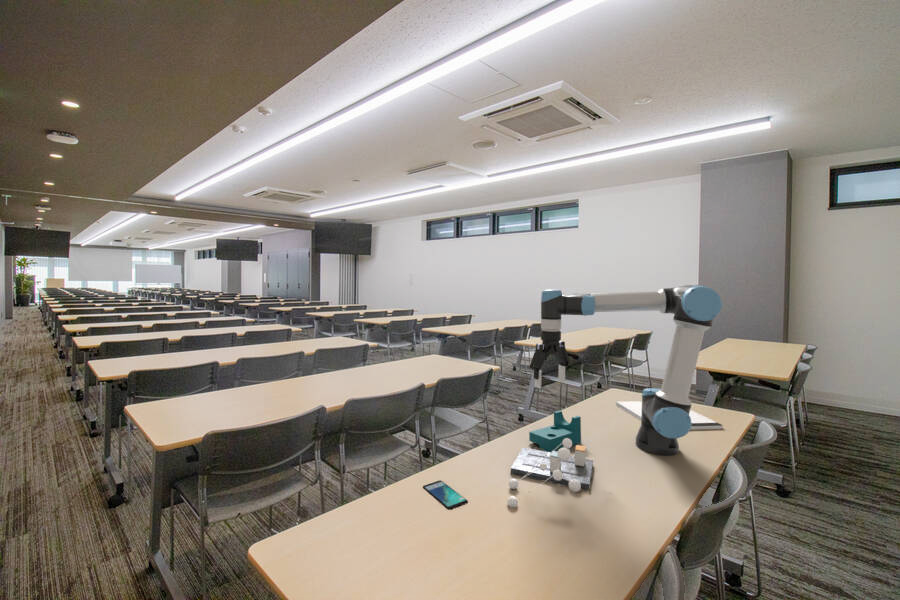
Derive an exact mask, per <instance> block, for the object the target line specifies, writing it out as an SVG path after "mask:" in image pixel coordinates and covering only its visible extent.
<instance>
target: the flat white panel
mask: <svg viewBox="0 0 900 600" xmlns="http://www.w3.org/2000/svg"><path fill="white" fill-rule="evenodd" d="M615 406H616V407H617V408H620V409H621V410H622V411H625V412H627V413H628V414H630V415H632V416H633V417H635V418H636V419H638V420H639V421H641V416H642V400H640V401H639V400H637V401H635V400H634V401H630V400H629V401H627V400H626V401H625V400H624V401H616V402H615ZM689 416H690V418H691V423H692V425H691V429H690V431H693V430H722V429H724V428H723V427H724V425H723V424H722V423H719V422H717V421H715V420H714V419H711V418H708V417H706V416H704V415H702V414H700V413H698V412H697V411H695V410H692V409H690V413H689Z"/></svg>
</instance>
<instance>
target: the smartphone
mask: <svg viewBox="0 0 900 600" xmlns="http://www.w3.org/2000/svg"><path fill="white" fill-rule="evenodd" d="M422 488H423V490H425V491H426V492H427V493H428V494H430V495H431V496H432V497H433V498H434V499H435V500H437V502H439V503H440V504H441V505H442V506H444V507H445V508H446V509H447V510H449V509H451V510H453V508H454V509H456V508H459V507H461V506H464V505H466V504H468V503H469V501H468V499H466V498H465V497H464V496H463V495H461V494H459V493H458V492H457V491H455V490H454V489H453V488H452V487H450V486H449V485H448V484H447V483H446V482H444V481H442V480H437V481H434V482H431V483H428V484H424V485H422Z"/></svg>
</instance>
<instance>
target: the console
mask: <svg viewBox="0 0 900 600" xmlns="http://www.w3.org/2000/svg"><path fill="white" fill-rule="evenodd" d="M550 453H551V452H547V451H544V450H541V449H540V450H539V449H533V448H530V447H529V448H528V447H525V446H524V447H522V448H521V450H520V451H519V453H518V455H517V457H516V458H515V460H514V462H513V463H512V465H511V467H510V474H511V475H515V476H520V477H522V478H523V477H524V476H525V475H526V474H527V473H528V472H529V473H528V474H530V473H531V474H530V475H528V474H527V475H528V476H527V475H526V477H524V478H528V479H533V480H538V481H542V480H543V481H542V482H544V481H545V480H546V481H545V482H548V483H552V484H558V485H562V486H566V487H569V486H568V484H569V481H570V480H572V478H573V479H574V477H575V479H576V480H578V481H579V482H580V484H581V489H580V490H585V491H590V488H591V481H592V480H591V479H592V475H593V467H594V460H593V459H589V458H585V464H584V466H579V465H575V456H572V455H571V457H570V459H569V460H567V463H566V461H562V460H561V469H560V471H561V472H562V473H563V478H564V479H561V480H559V481H557V480H555V479H554V478H553V472H550V464H548V463H550V455H551V454H550ZM549 454H550V455H549ZM545 457H546V458H545ZM544 458H545V459H544ZM543 459H544V460H543ZM542 460H543V461H542ZM571 460H572V463H571ZM541 461H542V462H541ZM540 462H541V463H545V464H546V465H547V464H548V465H547V469H546V470H545V471H542V470H541V469H539V468H540V467H539V466H540V464H541V463H540ZM537 464H538V465H537ZM567 464H568V465H567ZM536 465H537V466H536ZM535 466H536V467H535ZM572 466H573V469H572ZM534 467H535V468H534ZM568 467H569V468H568ZM533 468H534V469H533ZM532 469H533V470H532ZM537 469H539V470H537ZM536 470H537V471H536ZM569 470H570V471H569ZM534 471H535V472H534ZM573 471H574V474H573ZM532 472H533V473H532ZM570 472H571V474H570ZM571 475H572V477H571ZM551 476H552V477H551ZM550 477H551V478H550ZM548 478H549V479H548ZM547 479H548V480H547ZM565 479H566V480H565ZM568 480H569V481H568Z"/></svg>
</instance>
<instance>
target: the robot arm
mask: <svg viewBox="0 0 900 600" xmlns="http://www.w3.org/2000/svg"><path fill="white" fill-rule="evenodd" d="M722 306H723V303H722V299H721V296H720V295H719V293H718V292H717V291H716V290H715V289H713V288H711V287H708V286H706V285H705V286H704V285H701V284H700V285H698V284H696V285H687V284H686V285H681V286H677V287H675V286H674V287H667V288H660V289H659V290H658V291H657V290H654V291H629V292H605V293H599V292H597V293H573V294H571V295H569V294H567V295H566V294H563V293H562V290H561V289H544V290H542V292H541V298H540V318H541V319H540V329H541V331H540V340H541V341H542V342H541V343H536V344H535V351H534V353H533V356H532V359H531V361H530V365H529V369H530V370H532V371H533V379H534V388H537V389H542V370H541V369H542V367H543V366H544V364H545V361H546V359H547V358H548V357H549V356H551V355H554V356H555V359H556V360H557V361H558V363H559V364H558V374H557V376H558V377H557V379H558V382H559V383H563V384H565V383H566V371H567V367H569V365H570V363H571V361H570V357H569V354H568V352H567V349H566V342H565V341H562V340H561V339H562V331H561V330H562V315H564V316H566V315H567V316H585V317H586V316H593V315H595V313H607V312H608V313H609V312H611V313H612V312H613V313H614V312H618V313H619V312H620V313H621V312H660V313H661V314H673V315H674V316H673V318H672V319H673V322H674V323H675V325H676V327H675V330H674V335H673V338H672V343H671V347H670V351H669V355H668V360H667V364H666V368H665V370H664V371H665V373H664V376H663V380H662V383H661V388H655V387H652V388H650V387H647V388H643V390H642V392H641V393H642V395H641V401H642V416H641V420H640V423H641V424H640V427H639V430H638V432H637V434H636V436H635V445H636V447H637V448H639V449H640V450H643V451H645V452H647V453H650V454H655V455H659V456H674V455H677V454H679V449H680V445H679V442H678V439H679V438H683V437H685V436H686V435H687V434H688V433H689V432H690V431H691V430H690V429H691V425H692V423H691V418H690V416H689V413H690V410H692V409H691V408H692V405H693V404H692V403H693V402H692V401H691V400H690V398H689V396H690V392H691V391H690V390H691V387H692V383H693V378H694V375H695V371H696V367H697V363H698V359H699V356H700V350H701V349H702V348H701V347H702V344H703V339H704V335H705V332H706V331H707V330H709V329H711V328H712V324H713V322H714V318H716V317H717V316H719V314H720V312H721V311H722Z"/></svg>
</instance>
